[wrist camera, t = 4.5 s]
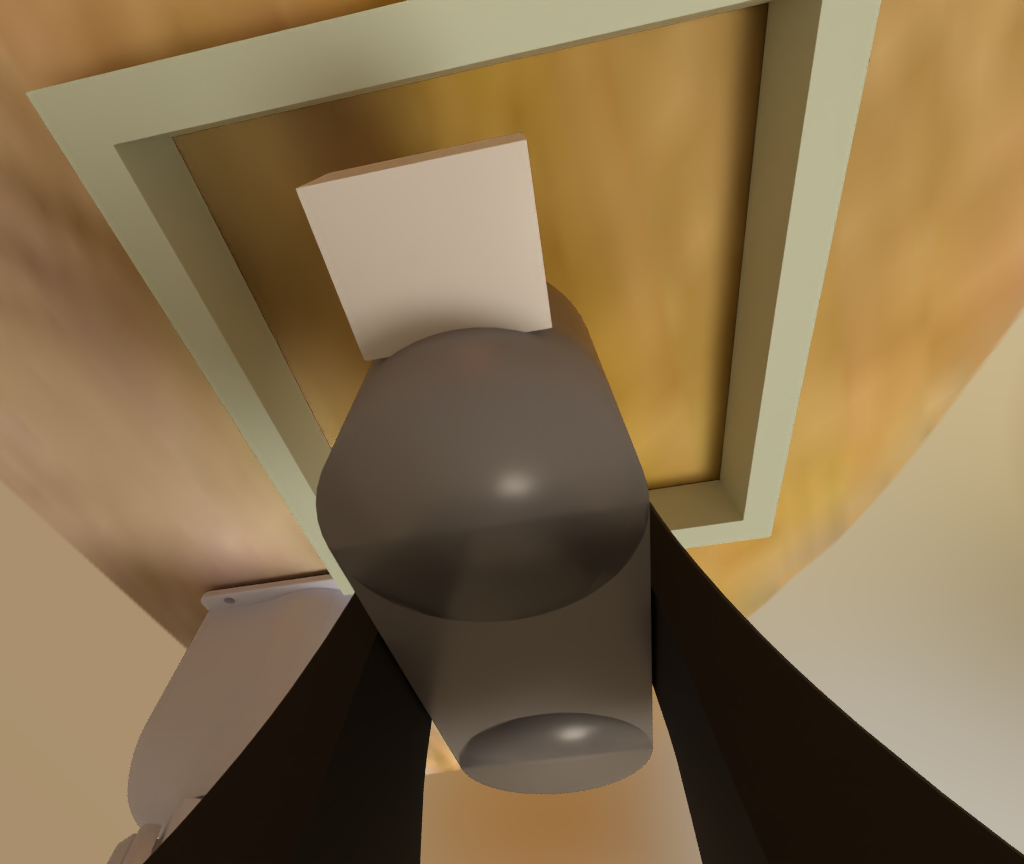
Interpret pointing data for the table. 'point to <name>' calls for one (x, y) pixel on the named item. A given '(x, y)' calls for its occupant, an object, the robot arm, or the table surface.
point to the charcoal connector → (486, 473)
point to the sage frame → (438, 52)
